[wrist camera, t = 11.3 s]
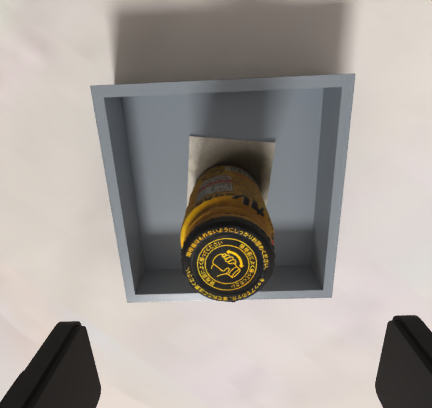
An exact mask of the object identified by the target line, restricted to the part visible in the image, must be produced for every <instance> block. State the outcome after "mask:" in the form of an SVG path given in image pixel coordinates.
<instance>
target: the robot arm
mask: <svg viewBox="0 0 432 408" xmlns="http://www.w3.org/2000/svg"><path fill="white" fill-rule="evenodd" d="M375 388H376V393H377V396H378V398H379V400H380V402H381V404H382V406H383V408H432V332H431V331H430V330H429V328H428V327H427V326H426V325H425V324H424V322H423V321H422V320H421V319H420V318H419V317H418V316H416V315H405V316H394V317H393V320H392V321H389V322H388V324H387V329H386V334H385V338H384V343H383V348H382V353H381V358H380V363H379V368H378V372H377V377H376V382H375ZM100 394H101V385H100V381H99V377H98V373H97V369H96V365H95V361H94V357H93V353H92V349H91V345H90V341H89V337H88V334H87V330H86V327H85V326H81V323H80V322H78V321H72V322H59V323H58V324H57V325H56V326H55V327H54V329H53V330H52V332H51V333H50V334H49V336H48V337H47V339H46V340H45V342H44V343H43V345H42V346H41V347H40V349H39V350H38V352H37V353H36V355H35V356H34V358H33V359H32V360H31V362H30V363H29V365H28V366H27V367H26V369H25V370H24V371H23V372H22V373H21V374H20V375H19V376H18V378H17V379H16V381H15V382H14V383H13V385H12V386H11V388H10V389H9V390H8V392H7V393H6V395H5V396H4V398H3V399H2V401H1V402H0V408H96V406H97V404H98V401H99V398H100Z"/></svg>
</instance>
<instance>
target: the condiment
mask: <svg viewBox="0 0 432 408" xmlns="http://www.w3.org/2000/svg"><path fill="white" fill-rule="evenodd" d="M274 150H275V143H272V142H261V141H247V140H236V139H225V138H209V137H194V136H190V137H189V161H188V163H189V165H188V189H187V209H186V211H185V216H184V220H183V223H182V227H181V230H180V231H181V236H180V240H181V247H182V249H181V265H182V270H183V273H184V275H185V276H186V278H187V280H188V282H189V285H190V286H191V287H192V288H193V289H194V290H195V291H197V292H198V293H200V294H201V295H203V296H205V297H207V298H209V299H212V300H216V301H227V302H235V301H238V300H243V299H246V298H249V297H250V296H252V295H254V294H255V293H257V292H259V291H261V290H262V288H263V287H264V286H265V285H266V283H267V282H268V280H269V279H270V277H271V276H272V274H273V269H274V266H275V260H274V259H275V257H276V256H275V252H274V249H275V248H274V228H273V224H272V222H271V219H270V216H269V214H268V211H267V209H266V206H267V199H268V192H269V185H270V178H271V171H272V163H273V157H274ZM213 161H214V162H213Z"/></svg>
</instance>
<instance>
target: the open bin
mask: <svg viewBox="0 0 432 408" xmlns="http://www.w3.org/2000/svg"><path fill="white" fill-rule="evenodd" d="M354 83H355V74H334V75H312V76H291V77H269V78H247V79H226V80H204V81H182V82H161V83H139V84H117V85H96V86H90V88H91V93H92V99H93V105H94V111H95V117H96V123H97V128H98V134H99V140H100V146H101V152H102V158H103V163H104V169H105V175H106V181H107V187H108V193H109V198H110V204H111V210H112V216H113V222H114V228H115V233H116V239H117V245H118V251H119V257H120V263H121V268H122V274H123V280H124V286H125V292H126V298H127V303H131V302H172V301H213V300H212V299H209V298H207V297H205V296H203V295H201V294H200V293H198V292H197V291H195V290H194V289H193V288H192V287H191V286H190V285H189V282H188V280H187V278H186V276H185V275H184V273H183V270H182V265H181V249H182V247H181V240H180V236H181V231H180V230H181V227H182V223H183V220H184V216H185V211H186V209H187V189H188V165H189V163H188V161H189V137H190V136H194V137H209V138H225V139H236V140H247V141H261V142H272V143H275V150H274V157H273V163H272V171H271V178H270V185H269V192H268V199H267V206H266V209H267V211H268V214H269V216H270V219H271V222H272V224H273V228H274V248H275V249H274V252H275V256H276V257H275V259H274V260H275V266H274V269H273V274H272V276H271V277H270V279H269V280H268V282H267V283H266V285H265V286H264V287H263V288H262V290H261V291H259V292H257V293H255V294H254V295H252V296H250V297H249V298H246V299H243V300H254V299H295V298H332V291H333V281H334V272H335V262H336V253H337V243H338V234H339V224H340V215H341V205H342V196H343V187H344V177H345V168H346V158H347V149H348V139H349V130H350V120H351V111H352V101H353V92H354ZM213 162H214V161H213Z"/></svg>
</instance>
